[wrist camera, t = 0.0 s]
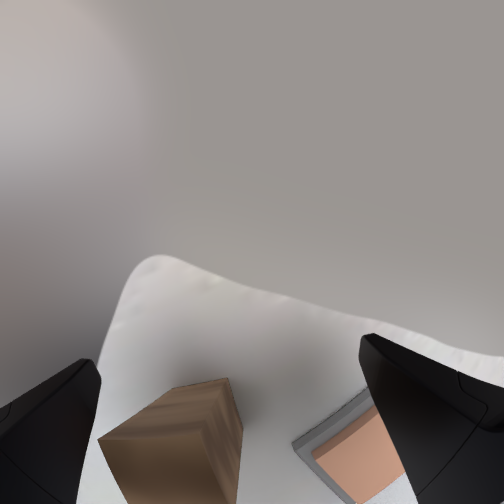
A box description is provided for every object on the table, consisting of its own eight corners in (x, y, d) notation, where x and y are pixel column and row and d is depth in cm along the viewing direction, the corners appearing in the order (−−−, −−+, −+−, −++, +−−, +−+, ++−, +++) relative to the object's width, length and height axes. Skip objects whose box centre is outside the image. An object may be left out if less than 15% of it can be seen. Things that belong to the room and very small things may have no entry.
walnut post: (243, 428, 20) (234, 517, 8) (188, 437, 20) (137, 519, 7) (227, 377, 22) (198, 433, 9) (172, 388, 21) (97, 439, 9)
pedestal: (421, 437, 19) (439, 447, 16) (344, 498, 18) (354, 515, 14) (380, 375, 21) (398, 381, 18) (291, 443, 20) (297, 459, 16)
